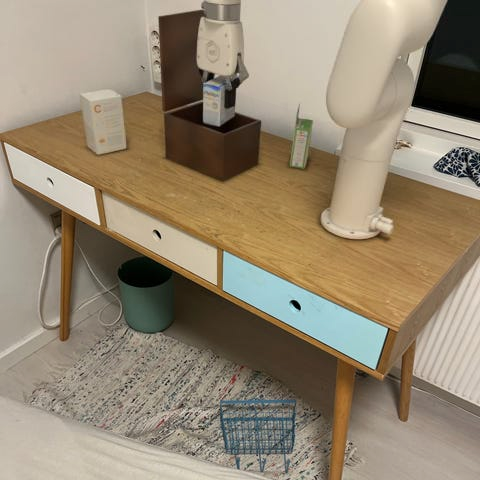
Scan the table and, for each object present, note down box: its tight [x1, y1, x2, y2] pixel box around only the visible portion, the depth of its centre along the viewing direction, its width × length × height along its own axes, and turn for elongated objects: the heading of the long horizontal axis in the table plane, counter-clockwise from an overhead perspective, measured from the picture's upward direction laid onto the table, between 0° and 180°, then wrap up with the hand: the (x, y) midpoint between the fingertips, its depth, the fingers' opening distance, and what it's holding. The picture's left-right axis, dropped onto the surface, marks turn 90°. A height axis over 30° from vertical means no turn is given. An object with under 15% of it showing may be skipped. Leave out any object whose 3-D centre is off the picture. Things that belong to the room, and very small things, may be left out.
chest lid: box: [157, 8, 204, 113], centre depth 116 cm, size 19×14×1 cm
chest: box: [163, 100, 262, 182], centre depth 122 cm, size 19×14×11 cm
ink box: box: [289, 103, 314, 170], centre depth 123 cm, size 7×4×13 cm, turn 168°
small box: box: [79, 88, 127, 156], centre depth 124 cm, size 8×6×13 cm
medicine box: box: [202, 75, 236, 126], centre depth 114 cm, size 8×4×9 cm, turn 154°
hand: (219, 103), depth 115 cm, fingers closed on medicine box, 5 cm apart
